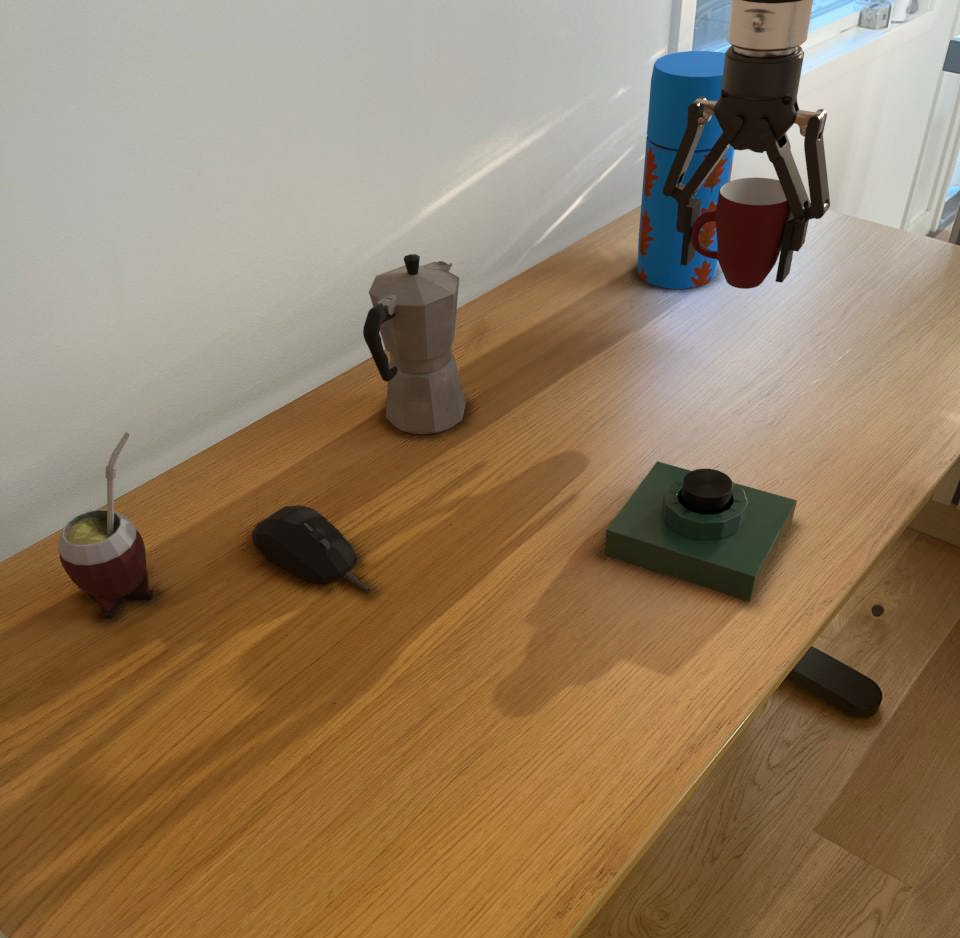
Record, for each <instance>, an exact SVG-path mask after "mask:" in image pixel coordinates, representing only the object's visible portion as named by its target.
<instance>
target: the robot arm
mask: <svg viewBox="0 0 960 938" xmlns="http://www.w3.org/2000/svg"><path fill="white" fill-rule="evenodd" d="M813 1H814V0H731V1H730V8H729V9H730V10H729V19H728V27H727V28H728V29H727V30H728V31H727V38H726V41H727V42H728V43H729V44H730V46H729V47H728V49H727V50H726V51H725V52H724V53H725V60H724V69H723V77H722V86H721V95H720V98H719V100H718V101H707V99H706V98H705V97H703V96H702V97H699V98H698V99H697V100H695V101H694V102H693V103H692V104H690V106H689V107H688V118H687V128H686V131H685V133H684V136H683V138H682V141H681V143H680V146H679V149H678V151H677V154H676V156H675V159H674V161H673V164H672V167H671V169H670V172H669V174H668V177H667V179H666V182H665V185H664V187H663V194H664V195H665V196H667V197H669V196H671V197H673V198H674V199H676V201H677V202H678V212H677V223H676V229H677V232H682V233H683V242H682V252H681V262H680V265H685V266H687V265H688V263H689V262H690V261H691V260H692V259H693V258H694V257H695V252H696V250H695V249H694V247H693V245H692V242H691V231H692V227H693V225H694V223H695V221H696V220H697V218H698V217H699V215H700V206H701V199H697V198H695V199H694V200H693V196H694V195H695V194H696V192H697V191H698V190H699V188H700V187H701V186H702V184H703V183H704V181H705V180H706V179H707V177H708V176H709V175H710V173H711V172H712V170H713V169H714V168H715V166H716V165H717V164H718V162H719V161H720V160H721V158H722V157H723V155H724V154H725V153H726V151H727V150H728V149H729V147H730V146H732V147H734V151H745V150H746V151H747V150H748V151H750V152H751V151H752V152H754V153H756V154H757V153H758V154H763V153H764V152H765V153H766V155H767V159H768V161H769V162H770V163H771V164H772V166H773V168H774V171H775V174H776V176H777V180H779V181H780V184H781V186H782V189H783V192H784V194H785V197H786V199H787V202H788V205H789V207H790V210H791V212H792V216H791V217H790V218H789V219H788V220H787V221H786V223H785V229H784V235H783V241H782V246H781V251H780V254H779V257H778V266H777V270H776V275H775V282H776V283H781V284H782V283H783V282H784V281H785V280H786V279H787V277H788V276H789V275H790V272H791V267H792V261H793V256H794V252H799V251H800V250H801V249H802V247H803V246H804V244H805V242H806V239H807V238H806V237H807V233H808V227H809V221H810V220H813V219H815V220H820V219H822V218H823V217H824V216H825V214H826V213H827V212H828V211H829V209H830V207H831V199H830V197H831V196H830V190H829V179H828V169H827V162H826V152H825V143H824V142H825V141H824V131H825V127H826V123H827V122H826V121H827V118H828V113H827V111H826V109H824V108H819V109H817V110H816V111H809V110H804V109H800V107H799V104H798V93H799V87H800V81H801V74H802V69H803V64H804V58H805V57H804V56H805V51H804V50H803V48H802V45H803V44H804V43H805V42H806V41H807V40H808V33H809V28H810V22H811V21H810V20H811V14H812V8H813ZM713 114H715V117H716V119H717V121H718V123H719V125H720V127H721V129H722V131H723V133H722V134H721V136H720V137H719V139H718V140H717V141H716V143H715V144H714V146H713V147H712V149H711V151H710V152H709V153H708V155H707V156H706V158H705V159H704V160H703V162H702V163H701V165H700V166H699V167H698V169H697V170H696V172H695V173H694V174H693V176H692V177H691V179H690V180H689V181H688V183H687V184H686V185H684V184H682V181H683V178H684V176H685V173H686V171H687V168H688V166H689V163H690V161H691V158H692V156H693V153H694V151H695V149H696V146H697V144H698V141H699V139H700V136H701V134H702V131H703V129H704V126H705V124H706V123H707V122H708V121H709V120H710V119H711V116H712V115H713ZM794 124H796V125H797V126H798V128H799V134H800V135H801V136H802V137H803V138H804V139H803V150H804V159H805V165H806V167H805V168H806V174H807V176H806V177H807V182H808V193H809V195H808V193H807V190H806V188H805V185H804V182H803V179H802V177H801V174H800V172H799V169H798V166H797V164H796V162H795V159H794V155H793V152H792V150H791V147H792V145H791V142H790V139H789V137H788V134H787V132H788V131H789V130H790V129H791V128H792V127H793V125H794Z"/></svg>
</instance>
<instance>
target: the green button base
mask: <svg viewBox="0 0 960 938" xmlns="http://www.w3.org/2000/svg"><path fill="white" fill-rule="evenodd" d="M691 471H692V470H690V469H686V468H683V467H680V466H675V465H672V464H669V463H666V462H663V461H662V462H661V461H659V460H658V461H656V462H655V463H654V465H653V466H652V467H651V469H650V470H649V472H648V473H647V474H646V475H645V477H644V478H643V479H642V481H641V482H640V484H639V485H638V486H637V487H636V489H635V490H634V491H633V493H632V495H631V496H630V497H629V498H628V500H627V501H626V502H625V504H624V505H623V506H622V508H621V509H620V511H619V512H618V513H617V515H616V516H615V518H614V519H613V520H612V522H610V524H609V525H608V527H607V528H606V530H605V541H604V555H606V556H608V557H612V558H615V559H618V560H621V561H624V562H627V563H630V564H633V565H636V566H639V567H642V568H645V569H648V570H651V571H654V572H657V573H661V574H664V575H667V576H669V577H673V578H675V579H679V580H682V581H685V582H687V583H691V584H694V585H697V586H700V587H702V588H703V587H704V588H706V589H710V590H713V591H716V592H719V593H721V594H724V595H728V596H731V597H733V598H737V599H740V600H743V601H746V602H751V600H752V598H753V596H754V594H755V593H756V591H757V589H758V587H759V585H760V583H761V582H762V580H763V578H764V576H765V574H766V572H767V570H768V569H769V567H770V565H771V563H772V562H773V559H774V557H775V556H776V554H777V552H778V550H779V548H780V546H781V545H782V543H783V541H784V539H785V537H786V535H787V534H788V532H789V530H790V528H791V526H792V523H793V519H794V515H795V511H796V507H797V503H798V500H797V499H794V498H790V497H787V496H783V495H781V494H780V495H779V494H775V493H772V492H769V491H765V490H761V489H757V488H754V487H752V486H747V485H745V484H740V483H737V482H734V481H733V480H732V482H733V488H732V494H731V499H730V504H729V507H728V508H727V510H725V511H724V512H722V513H719V514H705V515H702V514H699V513H696V512H692V511H689V510H687V509H686V508H685V507H684V506H683V505H682V504H681V500H680V499H681V491H682V484H683V479H684V477H685V476H686V474H688V473H689V472H691Z"/></svg>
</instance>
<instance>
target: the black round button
mask: <svg viewBox="0 0 960 938" xmlns="http://www.w3.org/2000/svg"><path fill="white" fill-rule="evenodd" d="M690 471H691V472H689V473H688V474H686V476H685V477H684V479H683V484H682V491H681V499H680V500H681V504H682V505H683V506H684V507H685V508H686V509H687V510H689V511H692V512H696V513H699V514H702V515H705V514H719V513H722V512H724V511H725V510H727V508H728V507H729V504H730V499H731V494H732V488H733V482H734V481H733V480H732V478H731V477H730V476H729V474H728V475H727V474H726V473H725V472H724V471H720V470H718V469H714V468H696V469H694V470H690ZM732 481H733V482H732Z"/></svg>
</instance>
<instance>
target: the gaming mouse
mask: <svg viewBox="0 0 960 938" xmlns="http://www.w3.org/2000/svg"><path fill="white" fill-rule="evenodd" d="M251 539H252V543H253V545H254V547H255V548H256V549H257V550H258V553H260V554H261V555H262V556H263V557H265V558H266V559H268V560H269V561H271V562H273V563H275V564H277V565H278V566H280V567H283V568H284V569H285V570H287V571H289V572H291V573H292V574H294V575H296V576H297V577H299V578H302V579H304V580H306V581H308V582H309V583H310V582H311V583H319V584H327V583H330V582H334V581H336V580H339V579H341V578H343V577H344V578H346V579H347V580H348V581H349V582H351V584H352V585H355V584H356V586H358V587H360V588H361V589H363V591H365V592H366V593H370V591H371V588H370V587H368V586H367V585H365V584H364V583H363V582H361V581H360V580H359V579H358V577H357V576H355V575H354V574H352V573H351V572H352V570H353V568H354V566H355V565H356V563H357V561H358V557H357V554H356V551H355V550H354V548H353V546H352V544H350V543H349V541H348V540H347V539H346V538H345V537H344V534H343V533H342V532H341V531H340V530H339V529H338V528H337V527H336V526H335V525H334V524H333V523H332V522H330V521H329V520H328V519H327V518H326V517H325V516H324V515H322V514H321V513H320V512H318V511H317V510H316V509H314V508H312V507H310V506H305V505H300V504H298V505H297V504H296V505H286V506H283V507H282V508H280V509H278V510H277V511H275V512H274V513H272V514H270V515H269V516H268V517H266V518H264V519H262V520H261V521H259V522H258V523H256V525H255V527H254V528H253V530H252V533H251Z"/></svg>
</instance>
